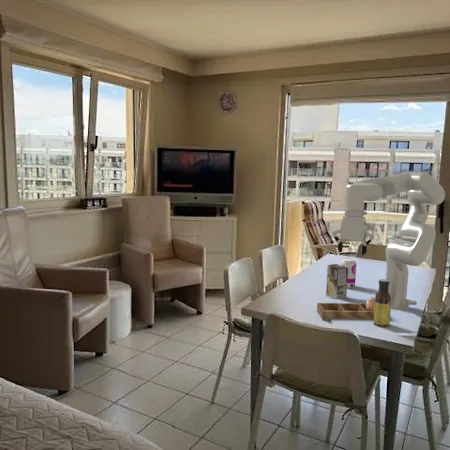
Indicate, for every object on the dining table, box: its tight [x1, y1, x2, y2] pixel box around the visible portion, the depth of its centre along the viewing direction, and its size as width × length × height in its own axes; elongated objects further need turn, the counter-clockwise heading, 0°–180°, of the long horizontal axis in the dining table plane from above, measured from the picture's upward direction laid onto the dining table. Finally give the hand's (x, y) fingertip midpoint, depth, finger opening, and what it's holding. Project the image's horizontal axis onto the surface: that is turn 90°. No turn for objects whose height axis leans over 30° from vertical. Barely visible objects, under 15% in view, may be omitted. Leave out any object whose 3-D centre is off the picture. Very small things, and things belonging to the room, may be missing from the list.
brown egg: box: [365, 296, 375, 311], centre depth 191 cm, size 5×5×8 cm
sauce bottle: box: [373, 278, 392, 328], centre depth 178 cm, size 6×6×20 cm
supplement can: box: [340, 257, 358, 289], centre depth 235 cm, size 8×8×15 cm
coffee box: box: [325, 263, 348, 300], centre depth 216 cm, size 9×6×16 cm
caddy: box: [316, 302, 374, 321], centre depth 191 cm, size 28×11×4 cm, turn 90°
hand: (351, 253), depth 184 cm, fingers open, 9 cm apart
